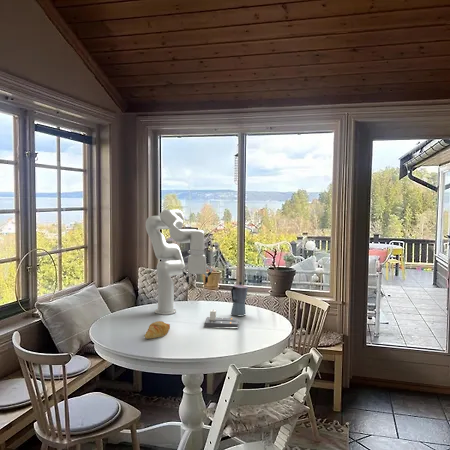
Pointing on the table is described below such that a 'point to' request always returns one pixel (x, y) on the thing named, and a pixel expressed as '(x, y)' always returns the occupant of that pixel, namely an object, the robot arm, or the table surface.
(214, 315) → the fader knob
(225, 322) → the fader console
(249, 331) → the table surface
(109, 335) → the table surface
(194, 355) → the table surface
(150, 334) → the croissant
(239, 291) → the moka pot
